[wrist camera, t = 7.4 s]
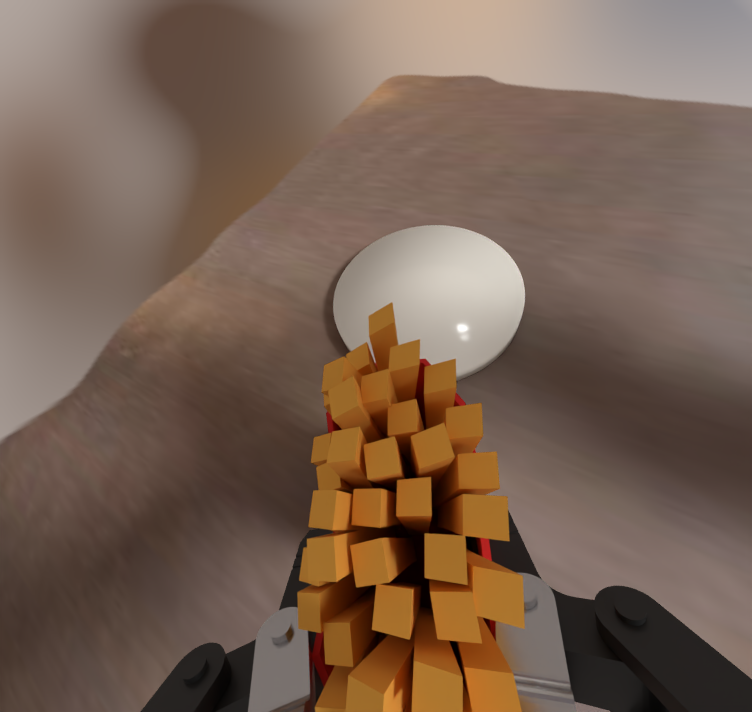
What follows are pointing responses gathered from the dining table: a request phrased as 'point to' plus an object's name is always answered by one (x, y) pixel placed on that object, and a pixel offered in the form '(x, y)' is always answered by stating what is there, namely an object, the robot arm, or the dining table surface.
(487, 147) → the dining table surface
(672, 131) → the dining table surface
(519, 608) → the french fries
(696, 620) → the dining table surface
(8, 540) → the dining table surface
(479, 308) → the ceramic plate
